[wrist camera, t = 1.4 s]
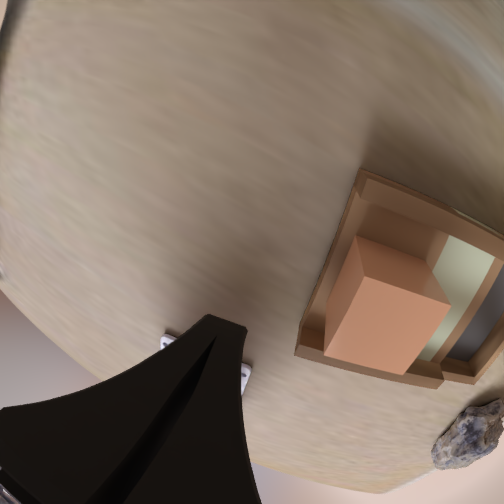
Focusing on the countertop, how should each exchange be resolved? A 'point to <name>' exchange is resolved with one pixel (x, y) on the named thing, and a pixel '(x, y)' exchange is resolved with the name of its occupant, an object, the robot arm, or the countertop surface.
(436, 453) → the mineral specimen
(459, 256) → the channel
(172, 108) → the countertop surface
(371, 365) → the block
